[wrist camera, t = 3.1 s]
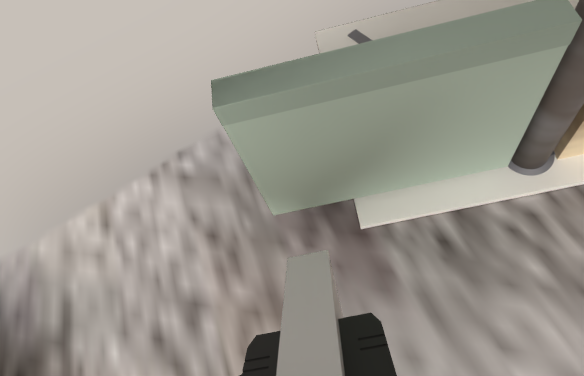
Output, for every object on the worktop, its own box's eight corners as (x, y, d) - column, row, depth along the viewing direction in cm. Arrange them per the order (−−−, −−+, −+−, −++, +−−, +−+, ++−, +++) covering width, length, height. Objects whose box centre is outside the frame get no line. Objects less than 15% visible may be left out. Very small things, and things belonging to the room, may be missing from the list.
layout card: (656, -50, 26) (661, -58, 26) (832, 133, 19) (842, 127, 19) (315, 36, 29) (314, 30, 28) (360, 229, 22) (360, 225, 21)
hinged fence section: (498, 145, 21) (563, -7, 14) (508, 167, 21) (582, 19, 13) (270, 194, 23) (211, 80, 15) (273, 216, 22) (212, 108, 14)
